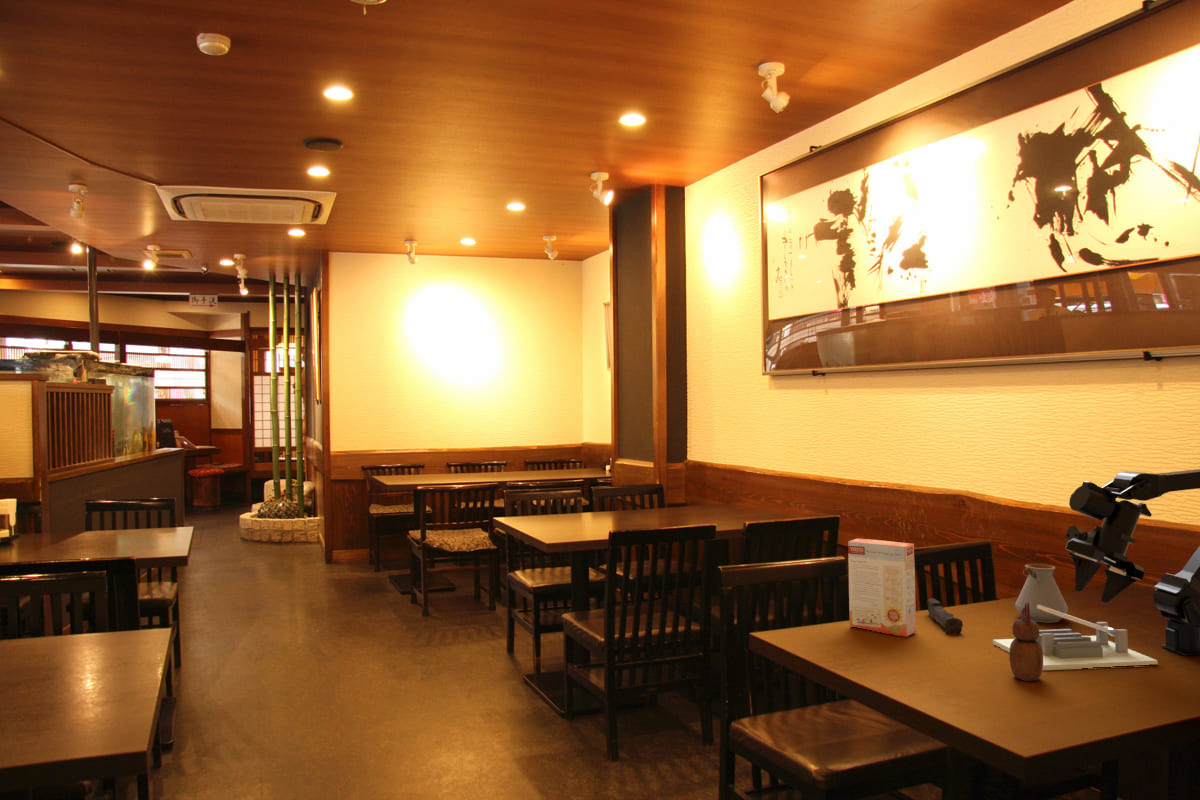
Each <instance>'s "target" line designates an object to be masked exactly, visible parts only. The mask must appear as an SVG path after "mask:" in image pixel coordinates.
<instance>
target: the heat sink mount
mask: <svg viewBox="0 0 1200 800" xmlns="http://www.w3.org/2000/svg"><path fill="white" fill-rule="evenodd" d="M1095 624H1097V625H1100V626H1108V627H1109V623H1108V622H1106V621H1096V622H1095ZM1114 629H1115V637H1114V642H1113V641H1110V640H1109V635H1108V634H1105V633H1103V632H1102V631H1101V630H1098V629H1095V635H1082V633H1080V632H1073V630H1072V629H1071V628H1059V629H1058V628H1057V629H1053V628H1052V629H1039V637H1038V638H1037V639H1036V640H1037V641H1038V642H1039V643H1040V645H1041V647H1042V650H1043V669H1042V671H1057V670H1061V671H1063V670H1064V671H1065V670H1082V668H1088V669H1094V668H1093V667H1111V668H1113V667H1112V666H1127V665H1149V664H1158V660H1157V659H1155V658H1152V657H1150V656H1147V655H1145V654H1142V653H1139V652H1138V651H1135V650H1133V649H1130V648H1129V647H1128V646H1129V643H1128V642H1129V641H1128V638H1129V637H1128V629H1124V628H1120V629H1118V628H1117V629H1116V628H1114ZM1014 639H1015V638H1002V639H1001V638H1000V639H999V638H998V639H992V644H993V645H994V646H995V645H996V646H995V647H997V648H999V647H1000V648H999V649H1001V650H1003V651H1005V652H1007V653H1009V652H1010V645H1011V642H1012V641H1013V640H1014Z"/></svg>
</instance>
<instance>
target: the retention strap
mask: <svg viewBox="0 0 1200 800" xmlns="http://www.w3.org/2000/svg"><path fill="white" fill-rule="evenodd" d="M1037 608H1038V609H1041V610H1043V611H1046V612H1048V613H1051V614H1054V615H1057V616H1060V617H1063V618H1064V619H1066V620H1070V621H1071V622H1075V623H1078V624H1081V625H1083V626H1087V627H1090V628H1092V629H1094V630H1096V629H1098V630H1101V631H1102V632H1103V633H1105V634H1108V636H1111V637H1114V638H1115V629H1116V628H1113V627H1110V626H1109V625H1108V626H1100V625H1097V624H1096V623H1093V622H1091V621H1088V620H1084V619H1083V618H1082V619H1081V618H1079V617H1076V616H1073V615H1070V614H1068V613H1067V614H1065V613H1062V612H1059V611H1056V610H1053V609H1050V608H1047V607H1044V606H1041V605H1037ZM1063 618H1062V619H1063Z"/></svg>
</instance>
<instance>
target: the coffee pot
mask: <svg viewBox="0 0 1200 800" xmlns="http://www.w3.org/2000/svg"><path fill="white" fill-rule="evenodd" d="M1024 567H1025V569H1023V571H1022V574H1023V575H1024V576H1025V577H1026V580H1025V583H1024V584H1023V587H1022V589H1021V590H1020V593H1019V595H1018V597H1017V599H1016V601H1015V604H1014V607H1015V608H1016V610H1017V611H1018V613H1020V615H1021V611H1023V608H1024V607H1025V603H1026V605H1027V603H1029V609H1030V620H1032V621H1034V622H1036V623H1045V624H1047V623H1058V622H1060V621H1061V619H1063V617H1060V616H1057V615H1054V614H1051V613H1048V612H1046V611H1043V610H1041V609H1038V608H1037V605H1041V606H1044V607H1047V608H1050V609H1053V610H1056V611H1059V612H1062V613H1065V614H1068V612H1069V607H1068V605H1067V603H1066V601H1065V599H1064V597H1063V595H1062V592H1061V590H1060V588H1059V586H1058V584H1057V582H1056V580H1055V578H1054V576H1053V574H1054V571H1055V570H1056V566H1053V565H1049V564H1041V563H1031V564H1029V563H1028V564H1025V565H1024ZM1024 571H1027V573H1028V575H1026V574H1025V573H1024Z"/></svg>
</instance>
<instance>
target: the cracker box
mask: <svg viewBox="0 0 1200 800" xmlns="http://www.w3.org/2000/svg"><path fill="white" fill-rule="evenodd" d="M847 546H848V547H847V549H848V552H847V553H848V555H847V556H848V558H847V560H848V599H849V601H848V604H849V605H848V606H849V609H848V610H849V628H851V627H859V628H863V629H868V630H867V631H869V630H872V631H871V632H875V631H876V633H880V632H881V634H887V635H891V634H892V635H893V636H898V637H902V636H903V638H907V637H909V636H911V635H913V634H915V633H916V632H917V618H916V615H917V614H916V612H917V611H916V610H917V608H916V572H915V571H916V570H915V569H916V567H915V565H916V564H915V543H911V542H910V543H909V542H899V541H898V542H897V541H890V540H881V539H867V538H854V539H851V540H849V541H848V542H847ZM863 629H862V630H863Z"/></svg>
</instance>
